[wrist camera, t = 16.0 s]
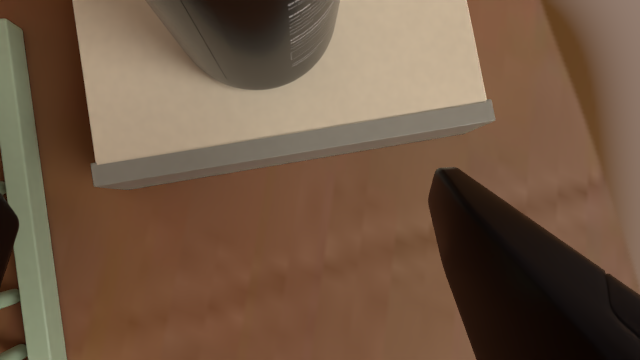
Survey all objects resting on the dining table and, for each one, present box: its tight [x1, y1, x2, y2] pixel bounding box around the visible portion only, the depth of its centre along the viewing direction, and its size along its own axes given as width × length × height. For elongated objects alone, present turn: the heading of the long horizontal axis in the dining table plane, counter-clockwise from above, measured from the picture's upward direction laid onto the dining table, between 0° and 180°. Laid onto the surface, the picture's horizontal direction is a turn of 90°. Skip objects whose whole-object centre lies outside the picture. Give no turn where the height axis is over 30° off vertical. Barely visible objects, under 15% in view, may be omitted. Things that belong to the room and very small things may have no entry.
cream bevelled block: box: [72, 0, 495, 190], centre depth 19 cm, size 11×17×3 cm, turn 100°
